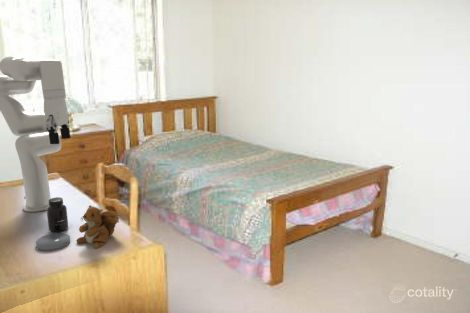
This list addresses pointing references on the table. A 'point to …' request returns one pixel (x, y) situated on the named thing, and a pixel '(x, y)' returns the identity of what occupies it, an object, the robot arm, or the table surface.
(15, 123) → the robot arm
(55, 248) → the slate plate
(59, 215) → the supplement bottle
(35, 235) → the table surface
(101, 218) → the stuffed squirrel
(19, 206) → the table surface
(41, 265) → the table surface
